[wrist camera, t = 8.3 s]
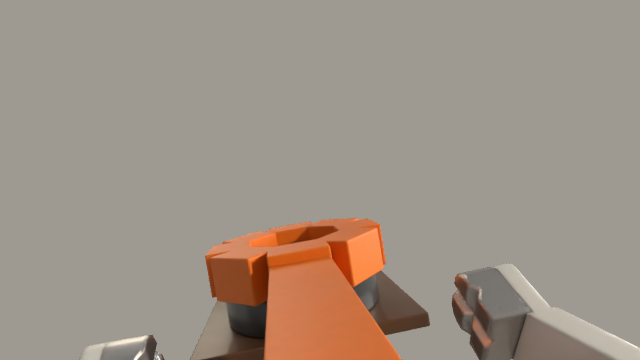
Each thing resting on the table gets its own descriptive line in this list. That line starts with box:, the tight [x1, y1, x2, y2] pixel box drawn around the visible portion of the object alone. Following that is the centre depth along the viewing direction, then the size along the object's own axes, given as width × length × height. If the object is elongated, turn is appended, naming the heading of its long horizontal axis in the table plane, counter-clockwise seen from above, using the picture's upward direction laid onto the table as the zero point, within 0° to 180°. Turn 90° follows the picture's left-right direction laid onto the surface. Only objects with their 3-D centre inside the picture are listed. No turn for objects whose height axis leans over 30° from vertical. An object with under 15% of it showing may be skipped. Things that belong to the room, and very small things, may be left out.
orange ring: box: [205, 218, 402, 360], centre depth 15 cm, size 8×18×2 cm, turn 7°
